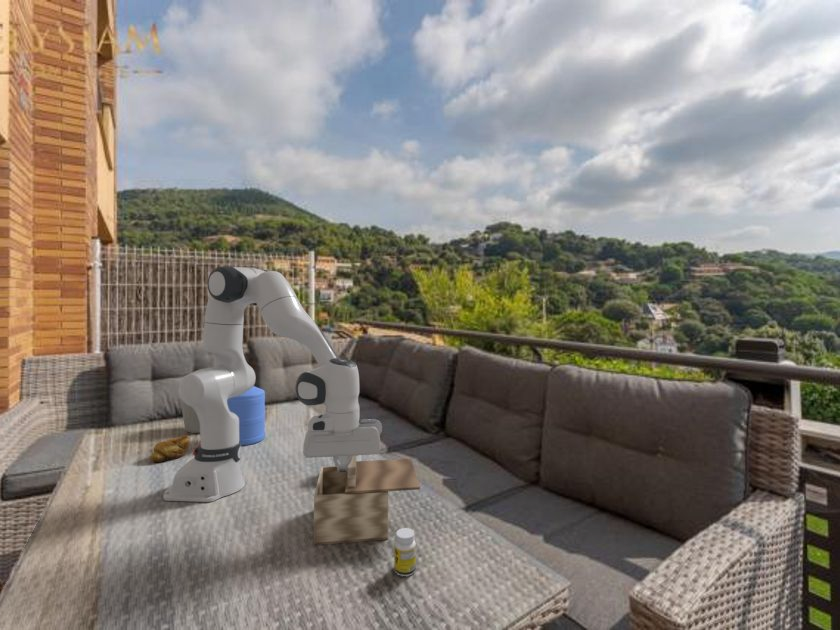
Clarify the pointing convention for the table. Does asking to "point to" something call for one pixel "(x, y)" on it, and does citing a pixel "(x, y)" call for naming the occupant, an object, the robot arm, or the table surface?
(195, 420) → the canister
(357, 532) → the box
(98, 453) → the table surface
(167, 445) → the bread roll
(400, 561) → the supplement bottle
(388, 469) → the lid
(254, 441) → the water jug
